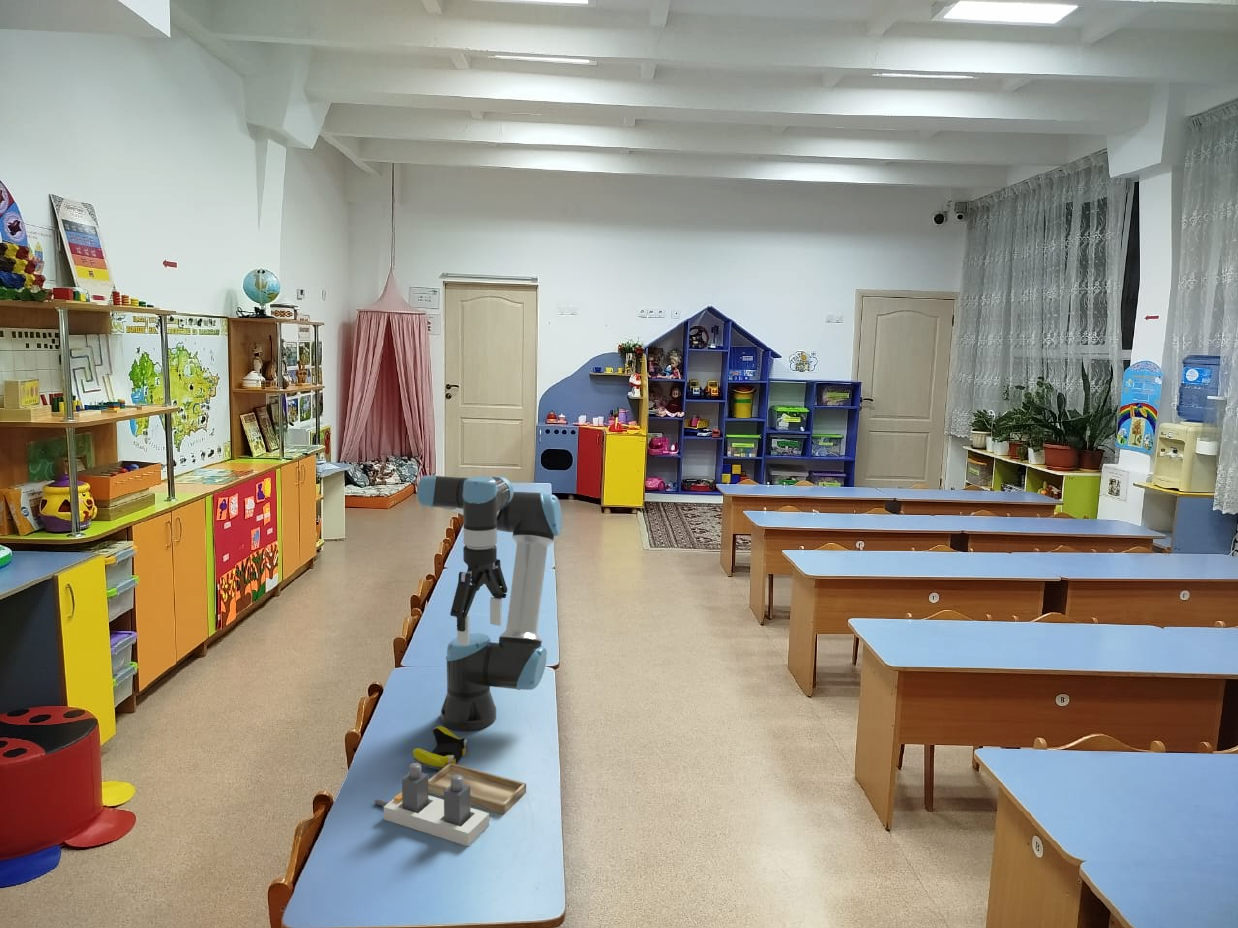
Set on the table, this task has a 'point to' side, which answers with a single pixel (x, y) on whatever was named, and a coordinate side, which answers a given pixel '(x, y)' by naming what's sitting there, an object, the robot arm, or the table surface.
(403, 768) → the table surface
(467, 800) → the plug
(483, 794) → the tray
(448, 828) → the strip
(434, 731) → the gaming controller
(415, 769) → the twin plug
